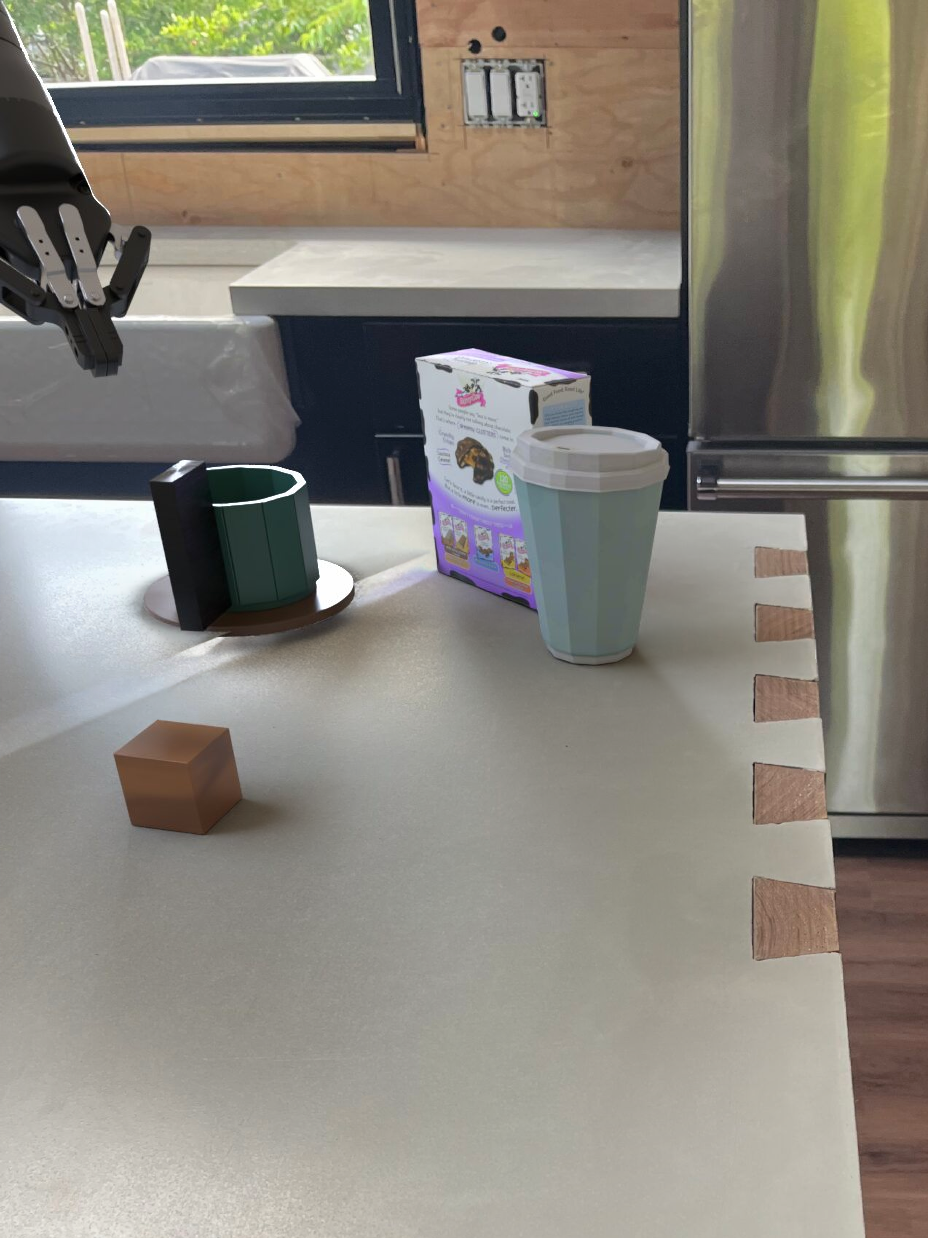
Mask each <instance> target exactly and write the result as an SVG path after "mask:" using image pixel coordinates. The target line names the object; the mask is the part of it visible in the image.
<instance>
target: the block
mask: <svg viewBox="0 0 928 1238" xmlns="http://www.w3.org/2000/svg"><path fill="white" fill-rule="evenodd" d="M112 756H113V759H114V763H115V766H116V767H115V768H116V770H117V775H118V778H119V782H120V786H121V790H122V795H123V798H124V802H125V805H126V809H127V814H128V817H129V821H130V825H131V826H137V827H144V828H151V829H157V830H158V829H159V830H166V831H174V832H181V833H188V834H196V835H205V834H206V833H207V832H208V831H209V830H210V829H211V828H213V826H214V825H215V824H216V823H217V822H219V821H220V820H221V819H222V818H223V817H224V816H225V815H226V814H228V812H229V811H230V810H231V809H232V808H233V807H234V806H235V805H236V804H238V803H239V802H240V801H241V799H243V791H242V786H241V781H240V776H239V772H238V767H237V762H236V756H235V752H234V746H233V741H232V737H231V732H230V728H229V727H224V726H214V725H207V724H199V723H192V722H191V723H190V722H183V721H172V720H165V719H157V720H155V721H154V722H152V723H151V724H149V725H148V726H147V727H146V728H145V729H143V730H142V731H141V732H140V733H137V735H135V736H134V737H133V738H132V739H131V740H129V741H128V742H126V743H125V744H124V745H123V746H122V747H120V748H118V750H116V751H115V752H114V753H113V754H112Z"/></svg>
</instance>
